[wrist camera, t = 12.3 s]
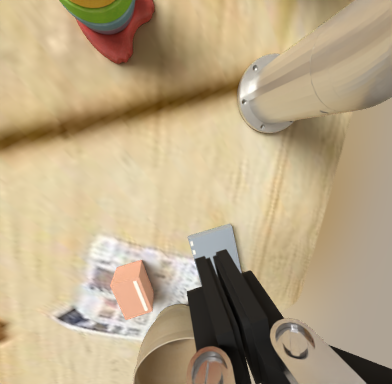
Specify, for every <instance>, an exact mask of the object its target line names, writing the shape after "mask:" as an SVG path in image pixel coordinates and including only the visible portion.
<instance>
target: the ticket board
mask: <svg viewBox="0 0 392 384" xmlns="http://www.w3.org/2000/svg"><path fill="white" fill-rule="evenodd" d="M188 239H189V243H190V246H191V250H192V254H193V257H194V261H195V259H196V258H199V257H202V256H205V257H206V258H209V257H210V259H211V262H212V264H213V266H214V269H215V271H216V268H215V264H214V260H213V256H215V255H216V252H218V251H221V250H224V249H227V251H228V253H229V254H230V256H231V258H232V259H233V261H234V263H235V264H236V266H237V268H238V269H239V271H240V273H241V268H240V263H239V258H238V253H237V248H236V243H235V238H234V233H233V229H232V226H231V225H230V224H226V225H223V226H220V227H217V228H213V229H210V230H207V231H203V232H200V233H197V234H193V235H190V236H188ZM195 264H196V262H195ZM196 268H197V266H196ZM197 271H198V269H197ZM216 274H217V272H216ZM198 275H199V273H198ZM199 278H200V277H199ZM200 282H201V280H200ZM201 285H202V284H201Z"/></svg>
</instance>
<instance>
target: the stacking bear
mask: <svg viewBox="0 0 392 384" xmlns="http://www.w3.org/2000/svg"><path fill="white" fill-rule="evenodd" d="M59 1H60V2H61V3H62V4H63V6H64V7H65V8H66V9H67V10H68V11H69V12H70V13H71V14H72V15H73V16H74V17H75V18H76V20H77V22H78V24H79V26H80V28H81V30H82V31H83V33H84V35H85V36H86V37H87V39H88V40H89V41H90V42H91V44H92V45H93V46H94V47H95V48H96V49H97V50H98V51H99V52H100V53H101V54H103V55H104V56H105V57H107V58H108V59H110V60H111V61H113V62H115V63H118V64H120V63H122V62H127V61H128V60H129V58H130V57H131V56H132V53H133V37H134V34H135V32H136V30H137V29H138V28H139V26H141V25H142V24H144V23H146V22H148V21H149V20H150V19H151V18H152V14H153V13H154V4H153V0H59Z"/></svg>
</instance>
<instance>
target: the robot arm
mask: <svg viewBox="0 0 392 384" xmlns="http://www.w3.org/2000/svg"><path fill="white" fill-rule="evenodd" d="M253 69H254V70H253ZM391 97H392V0H354V1H353V2H351V3H350V4H349V5H347V6H346V7H345V8H343V9H342V10H340V11H339V12H338V13H336V14H335V15H334V16H333V17H331V18H330V19H328V20H327V21H326V22H324V23H323V24H321V25H320V26H319V27H317V28H316V29H315V30H313V31H312V32H311V33H309V34H308V35H307V36H305V37H304V38H303V39H301V40H300V41H298V42H297V43H296V44H294V45H293V46H292V47H290V48H289V49H288V50H286V51H285V52H283V53H282V54H268V55H265V56H262V57H260V58H259V59H257V60H256V61H255V62H253V63H252V64H251V65H250V66H249V67H248V68H247V69H246V71H245V73H244V74H243V76H242V78H241V81H240V83H239V87H238V95H237V100H238V107H239V110H240V113H241V115H242V117H243V119H244V120H245V122H246V123H247V124H248V125H249V126H250V127H251V128H253V129H255V130H256V131H259V132H263V133H275V132H278V131H281V130H283V129H286V128H287V127H288V126H290V125H291V124H292V123H293V122H294V121H295V120H300V119H306V118H313V117H319V116H326V115H332V114H338V113H345V112H351V111H356V110H362V109H366V108H370V107H373V106H376V105H378V104H380V103H382V102H384V101H386V100H388V99H390V98H391ZM242 102H243V104H242ZM260 127H261V128H260ZM213 260H214V264H215V268H216V271H215V269H214V266H213V264H212V262H211V259H210V257H209V258H206V257H205V256H202V257H199V258H196V259H195V262H196V266H197V269H198V273H199V277H200V280H201V284H202V287H199V288H196V289H193V290H190V291H187V296H188V303H189V309H190V315H191V321H192V327H193V333H194V339H195V346H196V353H195V354H194V356H193V357H192V358H191V360H190V362H189V365H188V367H187V374H186V384H251V379H250V375H249V371H248V367H247V363H248V365H249V368H250V370H251V373H252V375H253V378H254V381H255V383H256V384H260V383H261V384H392V369H390V368H387V367H385V366H382V365H379V364H377V363H374V362H372V361H369V360H366V359H364V358H361V357H359V356H356V355H353V354H351V353H348V352H346V351H343V350H340V349H338V348H335V347H333V346H330V345H328V344H327V343H326V342H324V341H323V339H321V338H320V336H319V335H318V334H316V332H315V331H314V330H313V329H311V328H310V327H309V326H308V325H306V324H305V323H303V322H301V321H299V320H296V319H291V318H289V319H288V318H287V319H284V318H283V316H282V315H281V313H280V312H279V310H278V309H277V307H276V306H275V304H274V303H273V301H272V300H271V299H270V297H269V296H268V294H267V293H266V291H265V290H264V288H263V287H262V286H261V284H260V283H259V281H258V280H257V278H256V277H255V275H254V274H253V273H252V271H247V272H244V273H240V271H239V269H238V268H237V266H236V264H235V263H234V261H233V259H232V258H231V256H230V254H229V253H228V251H227V249H224V250H221V251H218V252H216V255H215V256H213ZM216 272H217V274H216ZM245 357H246V358H245ZM246 360H247V362H246Z"/></svg>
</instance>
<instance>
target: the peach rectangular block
mask: <svg viewBox="0 0 392 384" xmlns="http://www.w3.org/2000/svg"><path fill="white" fill-rule="evenodd" d="M110 287H111V289H112V291H113V293H114V295H115V298H116V300H117V302H118V304H119V306H120V308H121V311H122V313H123V315H124V317H125V319H126V320H128V319H131V318H134V317H137V316H140V315H142V314H145V313H148V312H151V311H152V310H153V293H154V291H153V288H152V286H151V283H150V280H149V278H148V275H147V273H146V270H145V267H144V265H143V262H142V260H140V261H136V262H133V263H130V264H127V265H123V266H120V267H117V268H116V271H115V274H114V276H113V279H112V282H111V285H110Z"/></svg>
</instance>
